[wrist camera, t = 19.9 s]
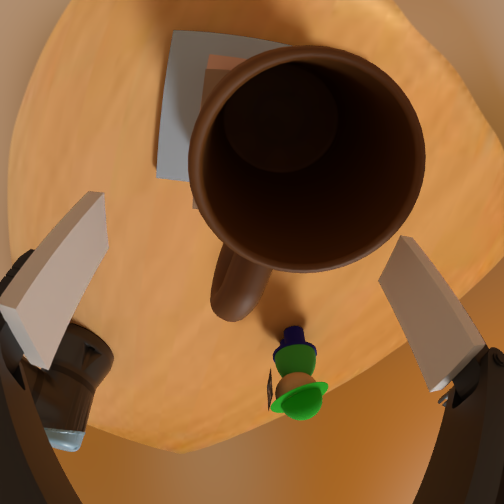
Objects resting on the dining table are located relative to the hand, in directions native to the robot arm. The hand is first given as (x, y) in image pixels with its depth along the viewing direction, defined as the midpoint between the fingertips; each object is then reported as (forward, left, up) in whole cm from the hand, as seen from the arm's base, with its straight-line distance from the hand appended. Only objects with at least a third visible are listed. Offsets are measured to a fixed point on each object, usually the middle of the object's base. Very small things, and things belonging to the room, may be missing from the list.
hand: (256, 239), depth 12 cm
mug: (0, +2, -7) cm, 7 cm away
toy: (+13, -31, -20) cm, 39 cm away
